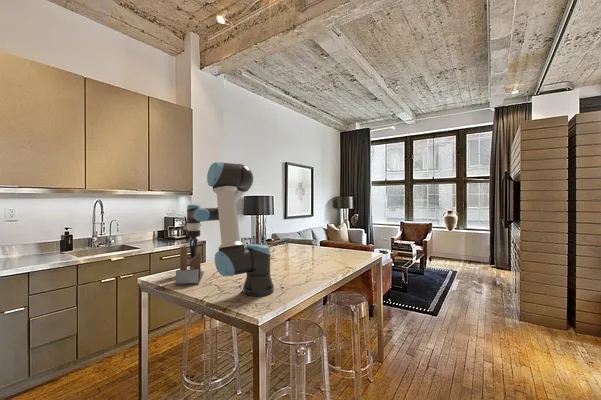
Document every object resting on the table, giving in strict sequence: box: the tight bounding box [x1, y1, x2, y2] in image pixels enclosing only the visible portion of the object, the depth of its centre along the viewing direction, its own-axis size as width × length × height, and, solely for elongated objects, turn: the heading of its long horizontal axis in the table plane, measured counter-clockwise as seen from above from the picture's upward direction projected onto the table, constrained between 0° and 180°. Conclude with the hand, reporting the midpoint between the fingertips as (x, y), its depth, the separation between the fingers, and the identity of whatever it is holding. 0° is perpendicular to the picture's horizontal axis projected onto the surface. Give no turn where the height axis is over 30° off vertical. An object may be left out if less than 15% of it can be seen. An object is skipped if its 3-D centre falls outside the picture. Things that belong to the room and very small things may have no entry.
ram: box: [187, 255, 195, 269], centre depth 165 cm, size 5×6×10 cm
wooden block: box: [179, 245, 202, 278], centre depth 157 cm, size 4×11×18 cm, turn 114°
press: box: [174, 268, 205, 287], centre depth 160 cm, size 24×12×8 cm, turn 12°
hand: (193, 268), depth 171 cm, fingers closed
